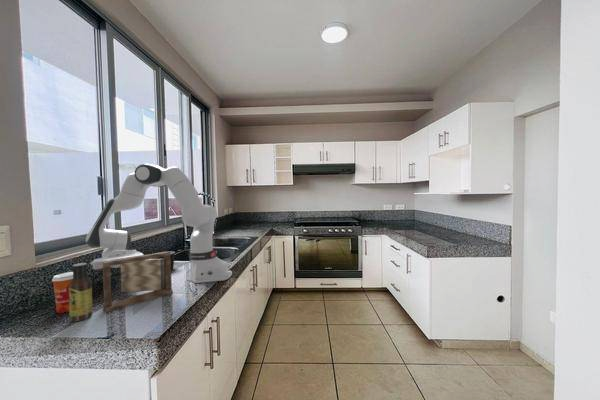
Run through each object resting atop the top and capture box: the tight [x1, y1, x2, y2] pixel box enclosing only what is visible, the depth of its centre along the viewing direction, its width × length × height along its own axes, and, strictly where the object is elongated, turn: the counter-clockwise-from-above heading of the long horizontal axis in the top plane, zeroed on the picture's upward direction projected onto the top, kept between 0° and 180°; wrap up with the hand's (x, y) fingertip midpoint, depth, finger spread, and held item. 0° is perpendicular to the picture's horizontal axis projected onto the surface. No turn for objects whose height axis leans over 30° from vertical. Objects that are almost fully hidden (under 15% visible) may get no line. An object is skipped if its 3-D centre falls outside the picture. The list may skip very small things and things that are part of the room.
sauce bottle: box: [69, 262, 93, 322], centre depth 89 cm, size 6×6×20 cm
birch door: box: [120, 258, 165, 293], centre depth 110 cm, size 19×3×14 cm, turn 92°
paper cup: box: [51, 271, 73, 314], centre depth 96 cm, size 8×8×14 cm
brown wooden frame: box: [102, 250, 174, 313], centre depth 104 cm, size 24×6×18 cm, turn 137°
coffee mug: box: [152, 251, 176, 271], centre depth 147 cm, size 12×9×10 cm
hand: (122, 263), depth 115 cm, fingers closed
